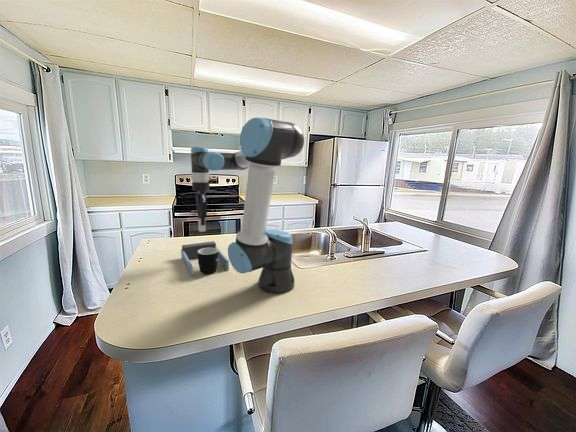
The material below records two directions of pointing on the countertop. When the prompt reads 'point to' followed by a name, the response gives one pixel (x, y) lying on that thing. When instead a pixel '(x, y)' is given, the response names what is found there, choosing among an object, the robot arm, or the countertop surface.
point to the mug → (208, 260)
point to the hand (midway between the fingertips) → (202, 230)
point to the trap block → (196, 249)
